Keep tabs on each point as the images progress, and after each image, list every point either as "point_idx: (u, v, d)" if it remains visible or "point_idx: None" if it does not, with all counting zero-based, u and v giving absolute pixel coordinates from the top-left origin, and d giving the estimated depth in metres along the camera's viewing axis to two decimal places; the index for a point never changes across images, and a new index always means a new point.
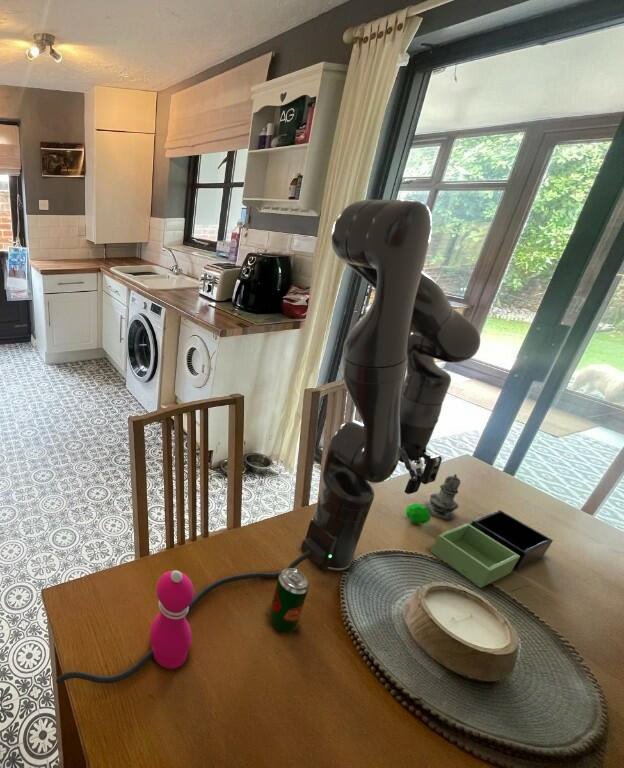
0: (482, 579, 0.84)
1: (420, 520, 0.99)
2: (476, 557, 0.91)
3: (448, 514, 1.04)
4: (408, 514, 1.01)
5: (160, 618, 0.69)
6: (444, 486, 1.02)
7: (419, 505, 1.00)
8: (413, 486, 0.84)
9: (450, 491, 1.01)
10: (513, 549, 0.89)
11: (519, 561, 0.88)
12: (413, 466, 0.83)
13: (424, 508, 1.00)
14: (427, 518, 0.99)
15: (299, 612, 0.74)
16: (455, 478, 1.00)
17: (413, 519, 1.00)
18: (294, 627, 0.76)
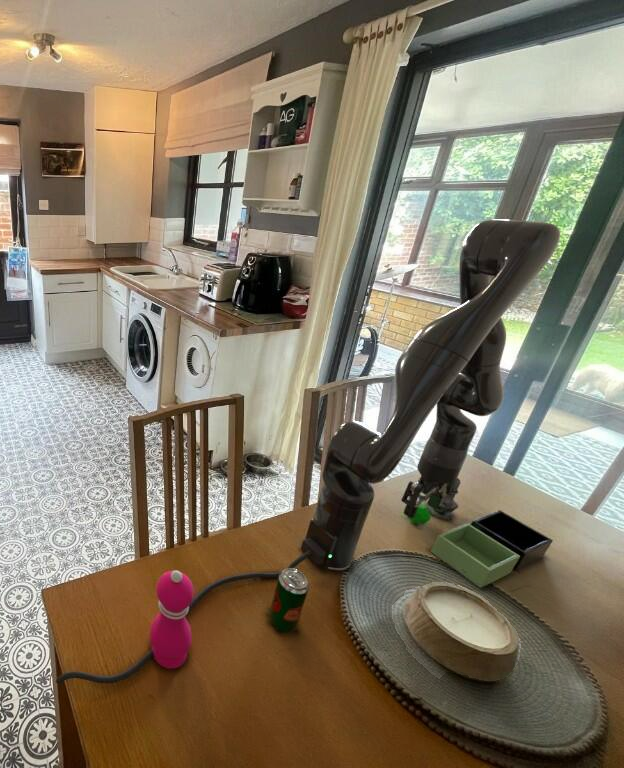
0: (482, 579, 0.84)
1: (420, 520, 0.99)
2: (476, 557, 0.91)
3: (448, 514, 1.04)
4: None
5: (160, 618, 0.69)
6: None
7: (419, 505, 1.00)
8: None
9: None
10: (513, 549, 0.89)
11: (519, 561, 0.88)
12: None
13: (424, 508, 1.00)
14: (427, 518, 0.99)
15: (299, 612, 0.74)
16: None
17: (413, 519, 1.00)
18: (294, 627, 0.76)
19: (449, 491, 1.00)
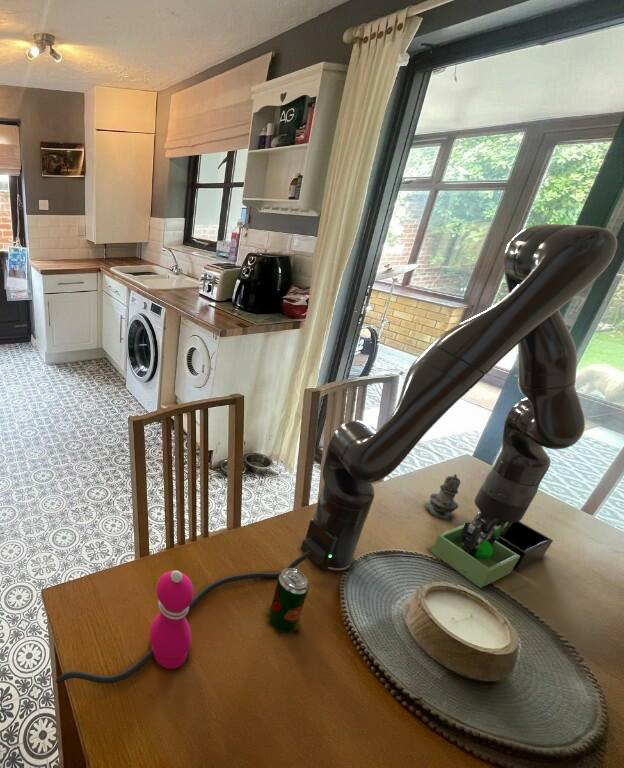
0: (482, 579, 0.84)
1: (481, 555, 0.87)
2: None
3: (448, 514, 1.04)
4: None
5: (160, 618, 0.69)
6: (444, 486, 1.02)
7: None
8: None
9: (450, 491, 1.01)
10: (513, 549, 0.89)
11: (519, 561, 0.88)
12: None
13: (485, 541, 0.87)
14: (489, 553, 0.87)
15: (299, 612, 0.74)
16: (455, 478, 1.00)
17: None
18: (294, 627, 0.76)
19: (503, 533, 0.88)
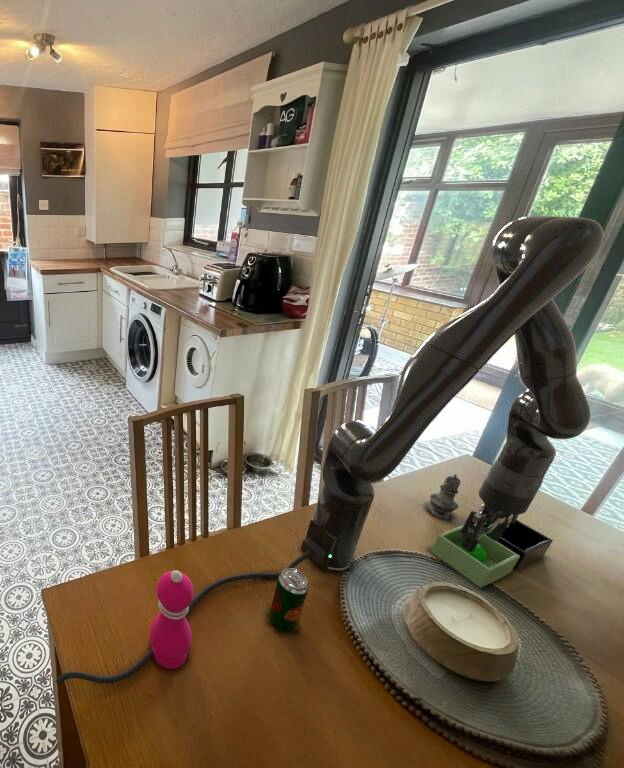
0: (482, 579, 0.84)
1: None
2: None
3: (448, 514, 1.04)
4: None
5: (160, 618, 0.69)
6: (444, 486, 1.02)
7: None
8: None
9: (450, 491, 1.01)
10: (513, 549, 0.89)
11: (519, 561, 0.88)
12: None
13: (479, 547, 0.88)
14: (484, 558, 0.87)
15: (299, 612, 0.74)
16: (455, 478, 1.00)
17: None
18: (294, 627, 0.76)
19: (513, 521, 0.87)
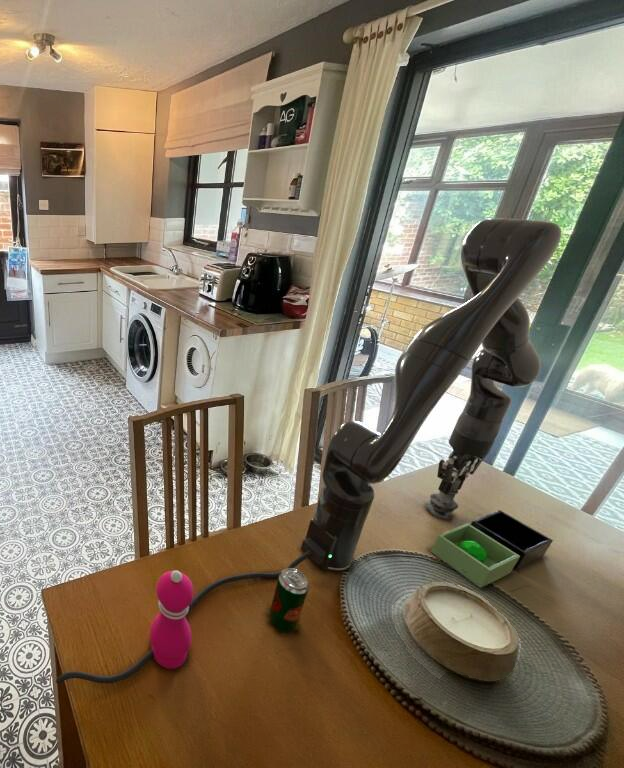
0: (482, 579, 0.84)
1: None
2: None
3: (448, 514, 1.04)
4: None
5: (160, 618, 0.69)
6: None
7: (473, 543, 0.89)
8: None
9: (450, 491, 1.01)
10: (513, 549, 0.89)
11: (519, 561, 0.88)
12: None
13: (479, 547, 0.88)
14: (484, 558, 0.87)
15: (299, 612, 0.74)
16: None
17: None
18: (294, 627, 0.76)
19: (472, 472, 1.00)
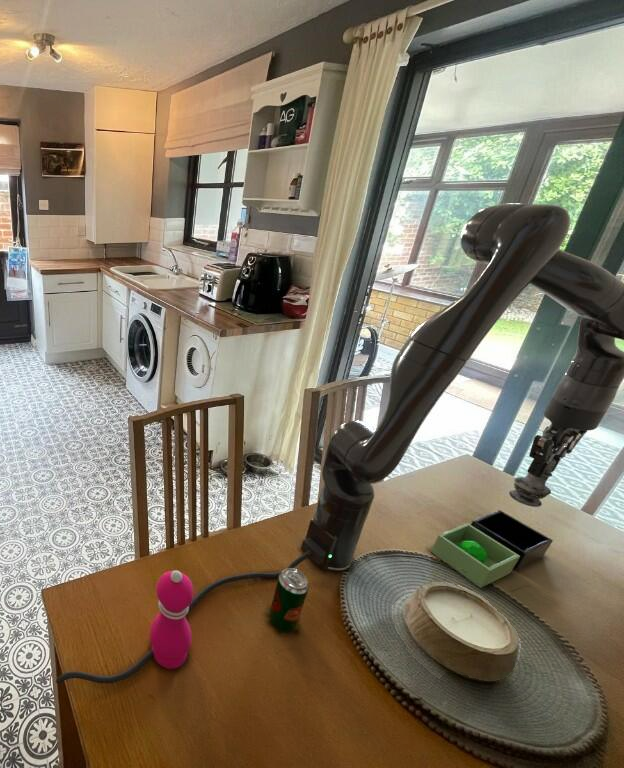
0: (482, 579, 0.84)
1: None
2: None
3: (537, 501, 0.88)
4: None
5: (160, 618, 0.69)
6: None
7: (473, 543, 0.89)
8: None
9: (543, 474, 0.85)
10: (513, 549, 0.89)
11: (519, 561, 0.88)
12: None
13: (479, 547, 0.88)
14: (484, 558, 0.87)
15: (299, 612, 0.74)
16: None
17: None
18: (294, 627, 0.76)
19: (569, 451, 0.85)
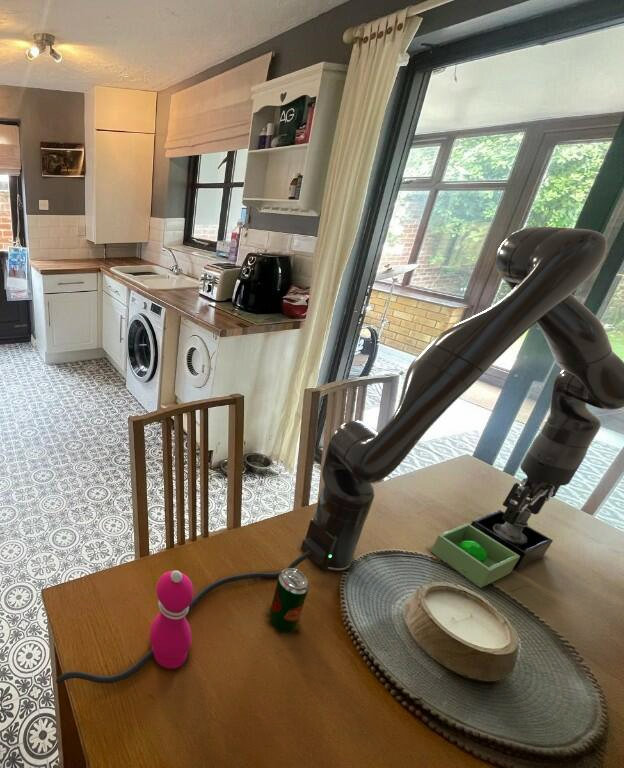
0: (482, 579, 0.84)
1: None
2: None
3: None
4: None
5: (160, 618, 0.69)
6: None
7: (473, 543, 0.89)
8: None
9: (519, 524, 0.90)
10: (513, 549, 0.89)
11: (519, 561, 0.88)
12: None
13: (479, 547, 0.88)
14: (484, 558, 0.87)
15: (299, 612, 0.74)
16: (525, 509, 0.90)
17: None
18: (294, 627, 0.76)
19: (553, 495, 0.90)
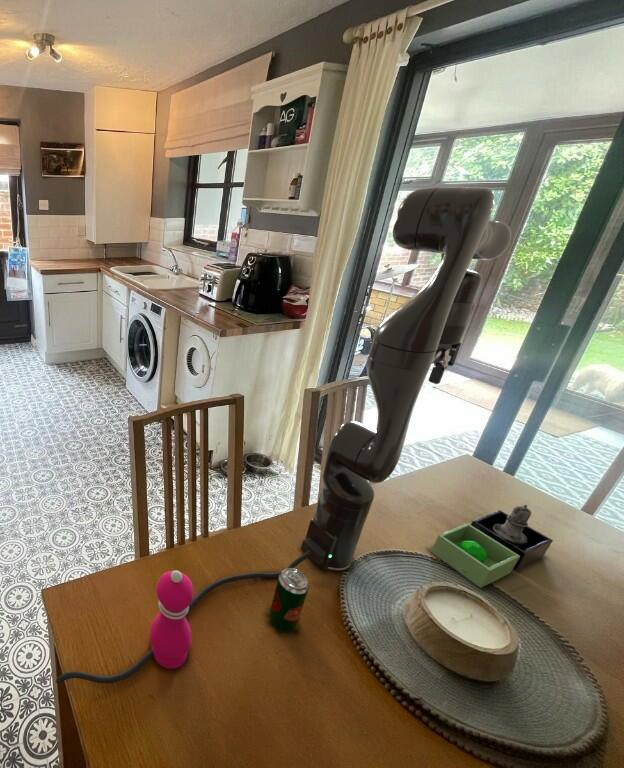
0: (482, 579, 0.84)
1: None
2: None
3: None
4: None
5: (160, 618, 0.69)
6: (512, 517, 0.91)
7: (473, 543, 0.89)
8: None
9: (519, 524, 0.90)
10: (513, 549, 0.89)
11: (519, 561, 0.88)
12: None
13: (479, 547, 0.88)
14: (484, 558, 0.87)
15: (299, 612, 0.74)
16: (525, 509, 0.90)
17: None
18: (294, 627, 0.76)
19: (451, 363, 0.96)
